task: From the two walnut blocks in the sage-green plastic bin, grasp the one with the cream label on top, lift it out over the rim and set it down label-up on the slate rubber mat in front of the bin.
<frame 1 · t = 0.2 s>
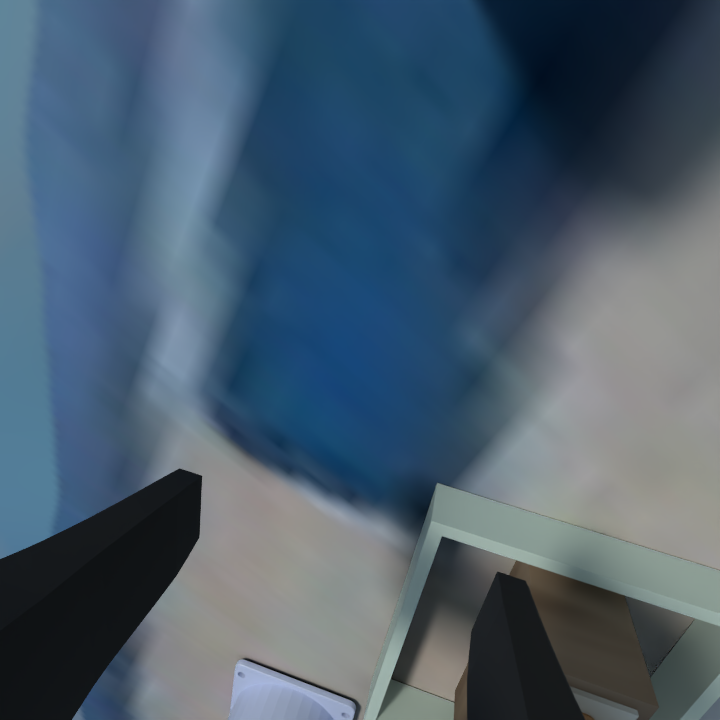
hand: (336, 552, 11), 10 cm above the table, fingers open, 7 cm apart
labelled block: (554, 583, 22), resting in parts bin
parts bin: (525, 637, 24), on the table
plain block: (501, 682, 26), resting in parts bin
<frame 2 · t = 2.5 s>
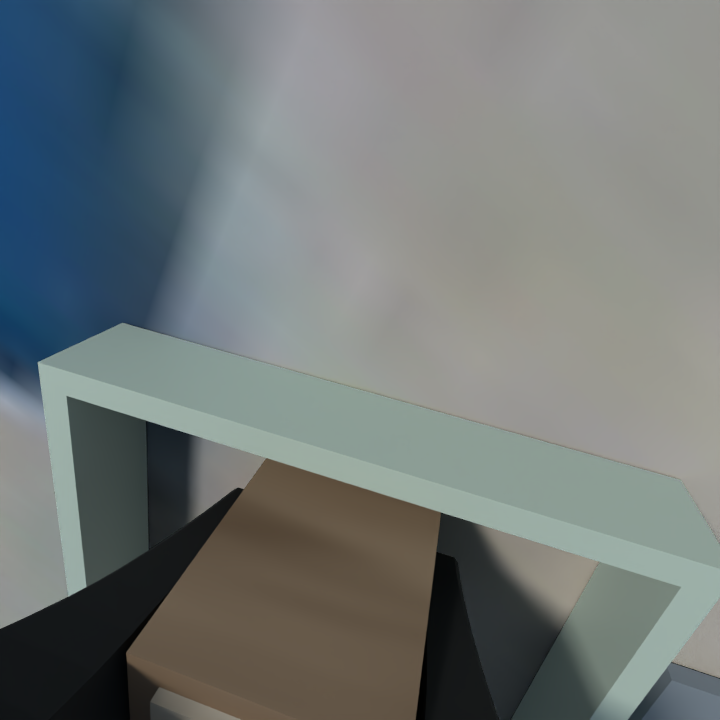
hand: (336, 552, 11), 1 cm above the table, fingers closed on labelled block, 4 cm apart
labelled block: (351, 511, 12), resting in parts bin, touching gripper
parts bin: (328, 612, 14), on the table
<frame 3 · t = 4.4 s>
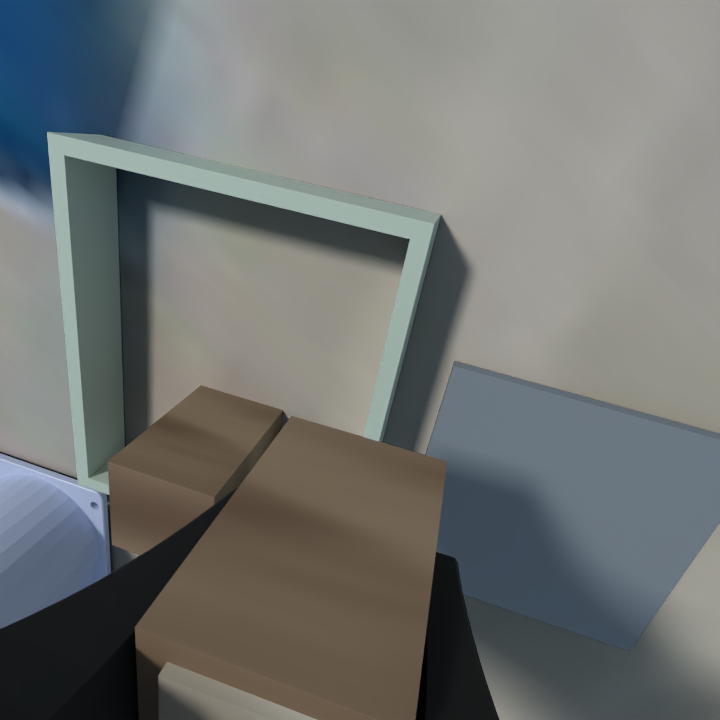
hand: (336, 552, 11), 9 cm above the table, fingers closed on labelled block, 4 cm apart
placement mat: (547, 512, 20), on the table
labelled block: (353, 499, 13), point 7 cm above the table, touching gripper
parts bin: (244, 358, 20), on the table
plain block: (238, 433, 22), resting in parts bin
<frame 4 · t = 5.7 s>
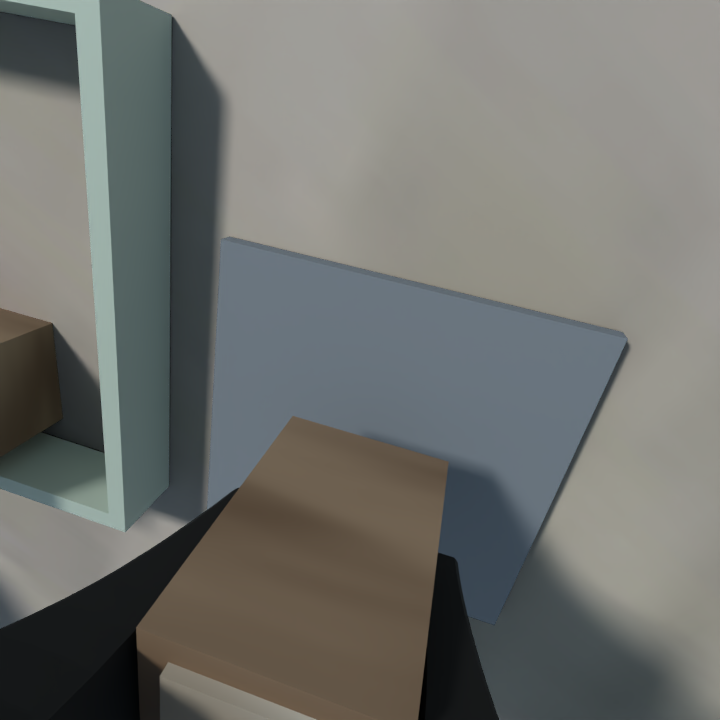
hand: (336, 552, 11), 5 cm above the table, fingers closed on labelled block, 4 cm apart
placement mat: (375, 444, 15), on the table
labelled block: (354, 499, 13), point 3 cm above the table, touching gripper
plain block: (11, 358, 18), resting in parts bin
when the fingers open (3 cm above the table, at t = 6.8 s): labelled block drops 1 cm, resting on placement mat.
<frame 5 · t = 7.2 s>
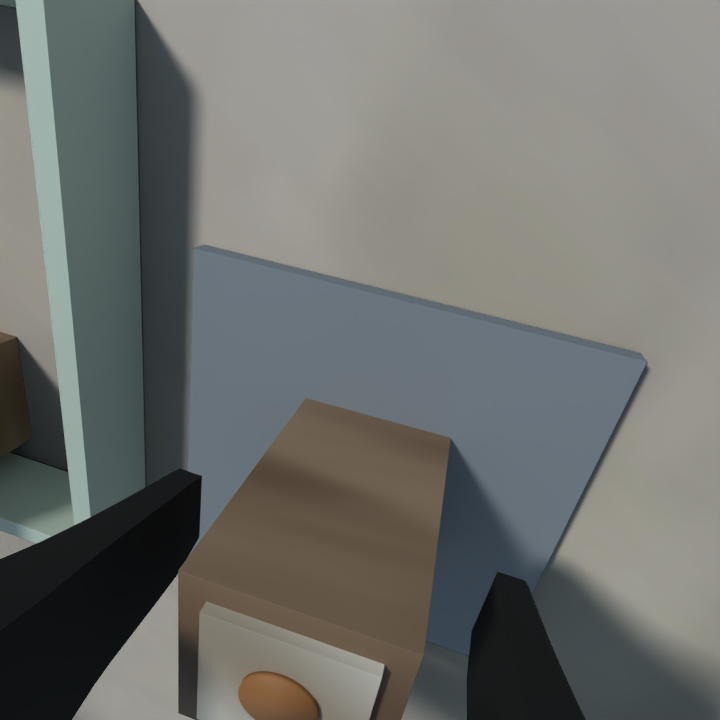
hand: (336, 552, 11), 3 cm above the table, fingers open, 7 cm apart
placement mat: (366, 471, 14), on the table
labelled block: (363, 476, 13), resting on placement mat
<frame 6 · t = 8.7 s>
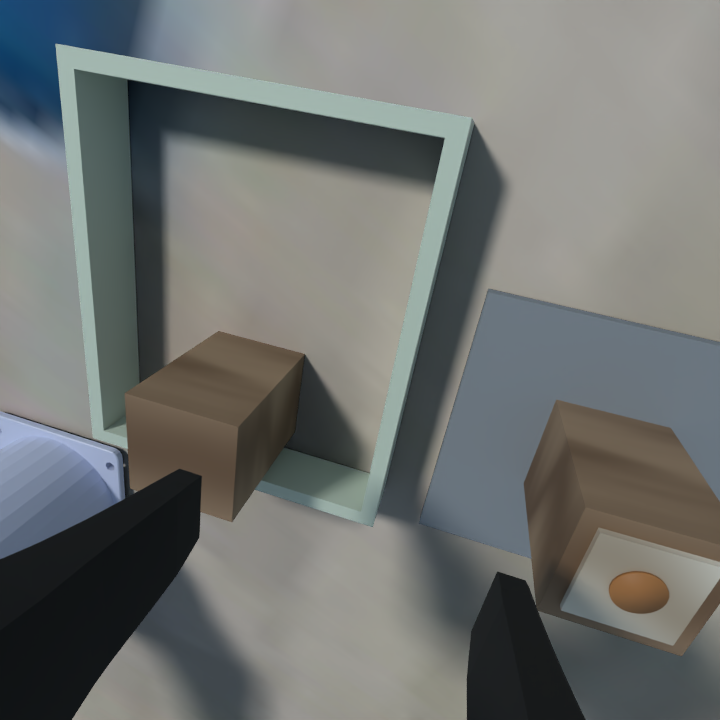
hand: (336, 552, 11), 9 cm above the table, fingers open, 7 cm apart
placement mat: (588, 454, 19), on the table
labelled block: (592, 457, 18), resting on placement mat
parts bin: (264, 298, 19), on the table
plain block: (257, 382, 21), resting in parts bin
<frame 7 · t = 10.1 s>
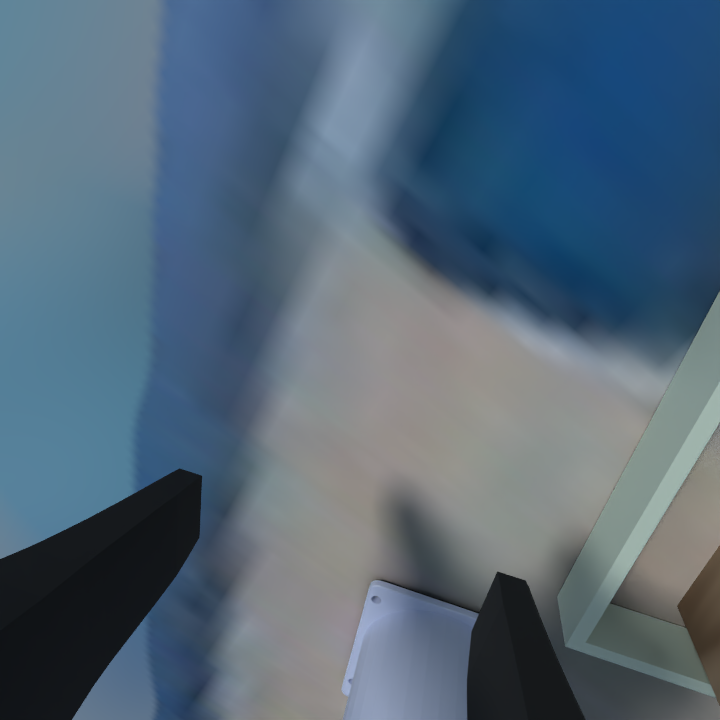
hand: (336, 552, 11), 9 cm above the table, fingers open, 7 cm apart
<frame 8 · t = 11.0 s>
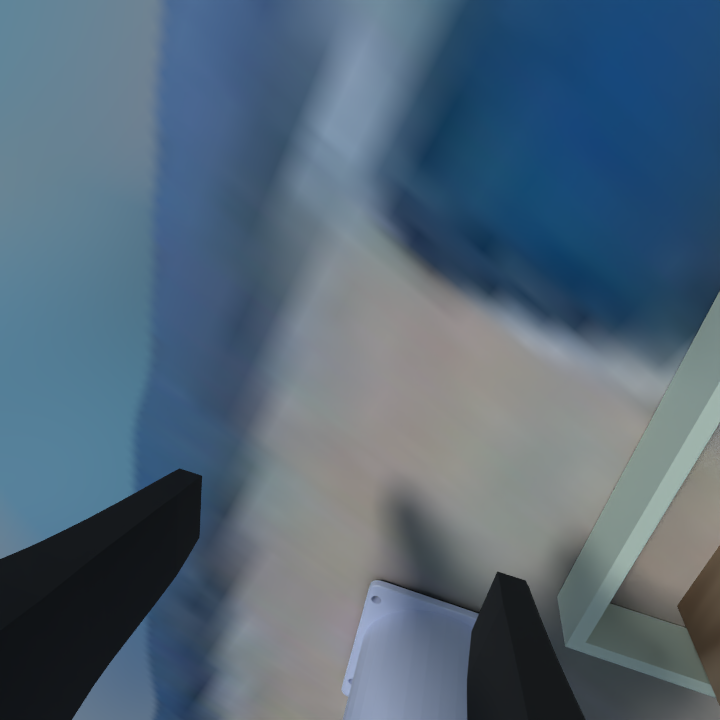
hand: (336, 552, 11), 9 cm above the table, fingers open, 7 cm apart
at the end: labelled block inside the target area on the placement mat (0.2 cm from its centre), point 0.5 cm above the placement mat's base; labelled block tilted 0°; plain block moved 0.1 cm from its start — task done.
